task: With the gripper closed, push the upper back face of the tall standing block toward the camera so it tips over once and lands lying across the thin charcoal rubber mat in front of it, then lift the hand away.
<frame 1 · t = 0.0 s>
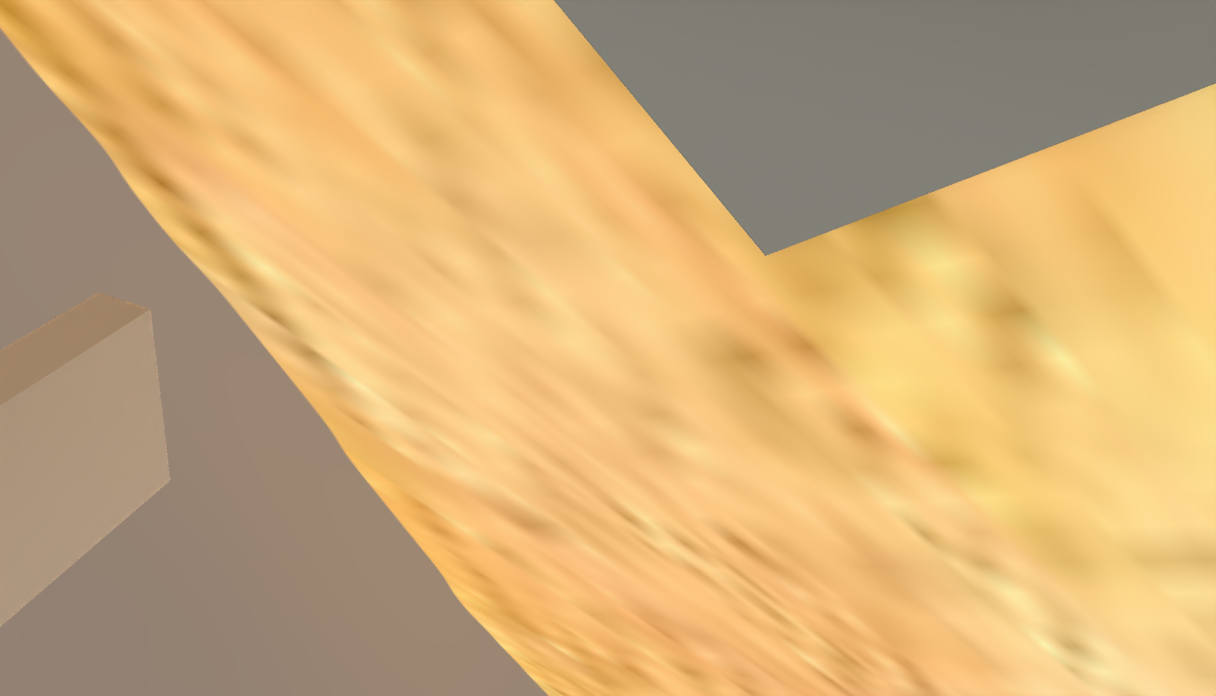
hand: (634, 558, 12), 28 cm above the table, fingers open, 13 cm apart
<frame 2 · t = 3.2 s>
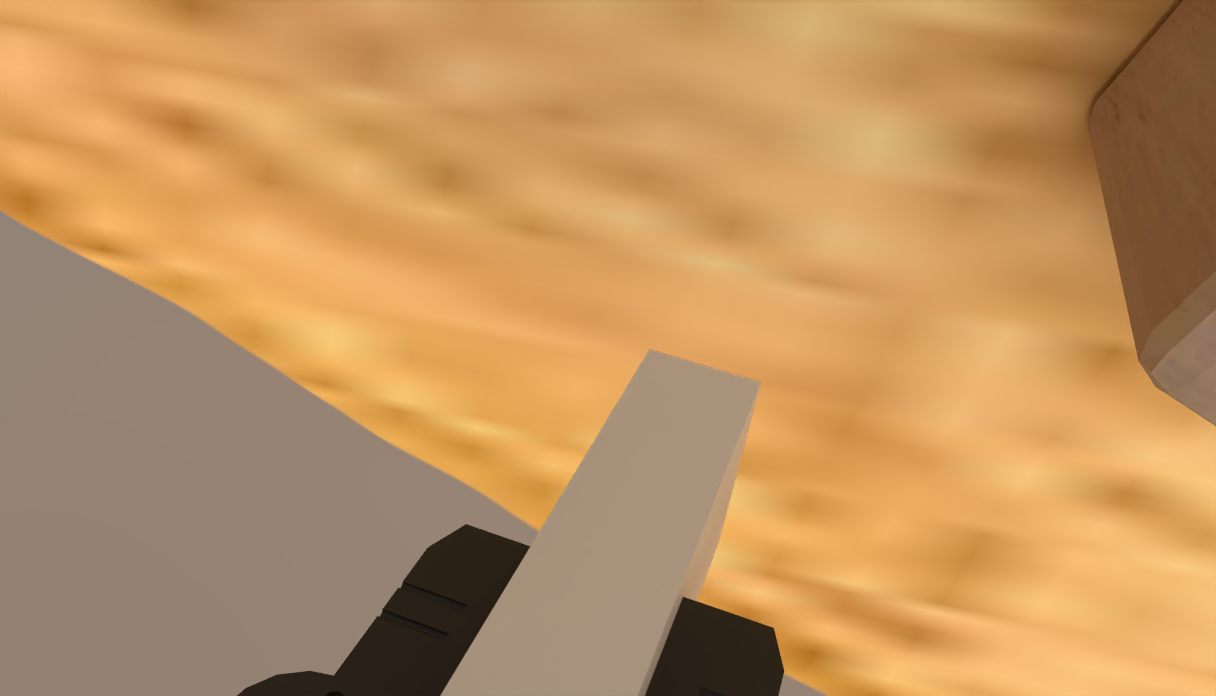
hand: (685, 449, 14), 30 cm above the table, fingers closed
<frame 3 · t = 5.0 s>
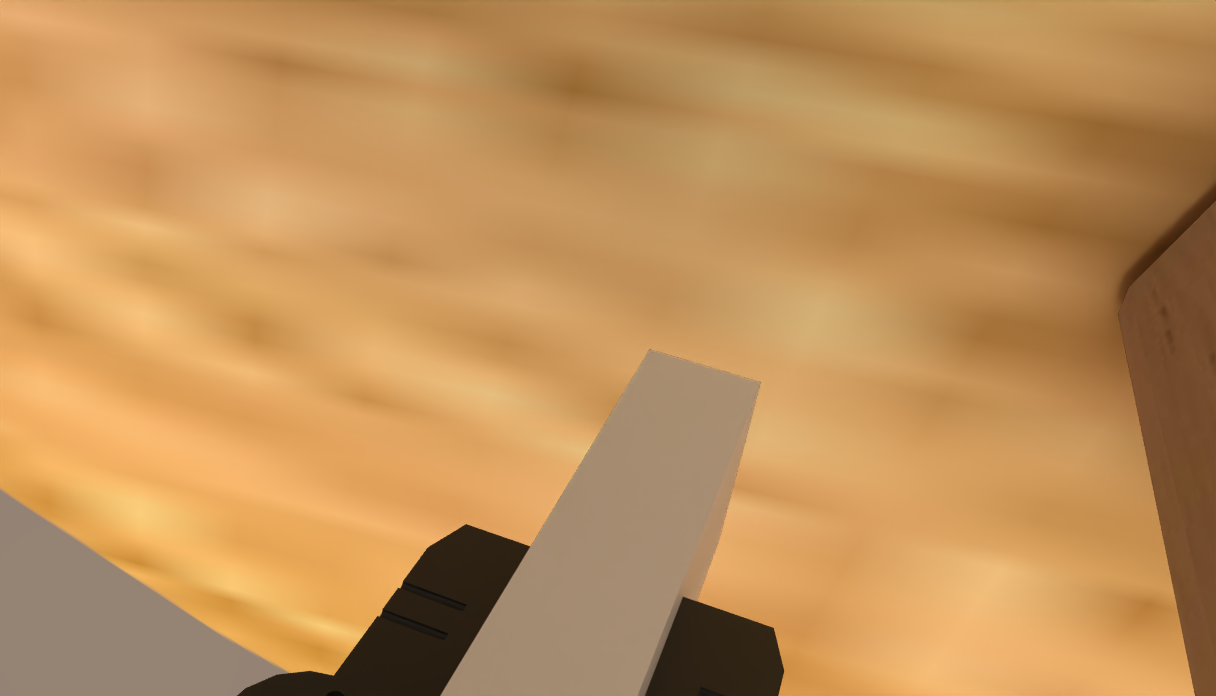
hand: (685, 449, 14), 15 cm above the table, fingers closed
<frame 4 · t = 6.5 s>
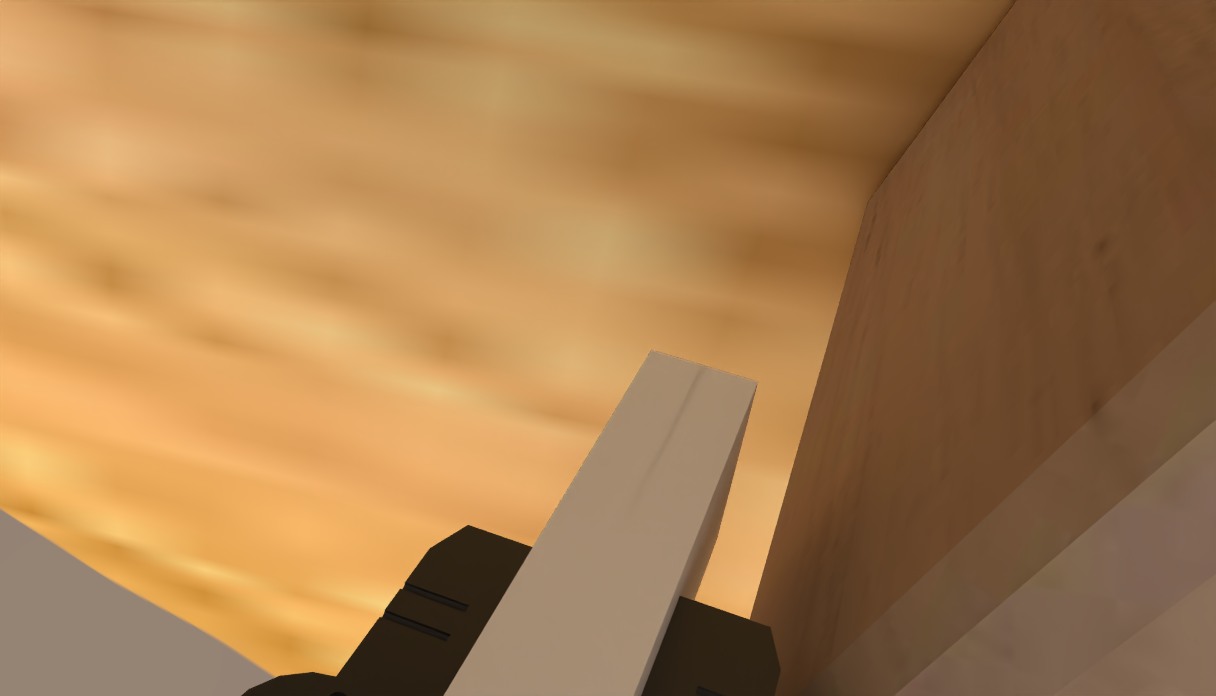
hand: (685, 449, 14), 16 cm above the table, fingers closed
block: (1141, 165, 25), on the table, touching gripper
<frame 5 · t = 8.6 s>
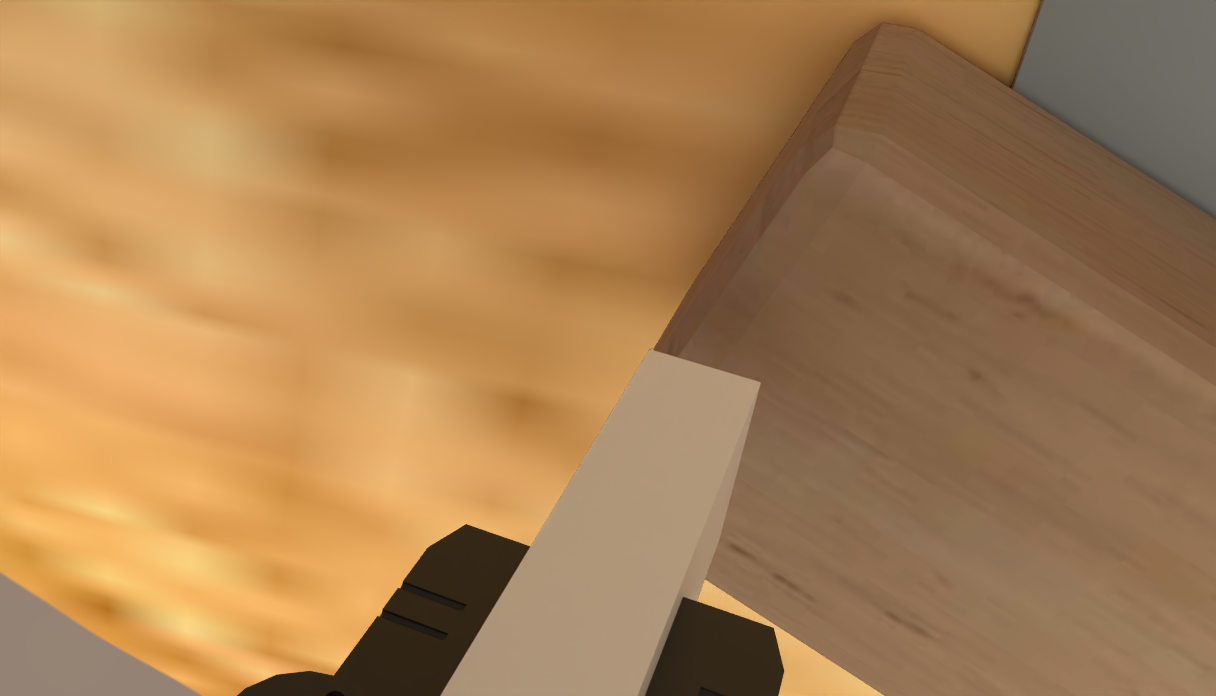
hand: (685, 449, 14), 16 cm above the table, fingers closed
block: (722, 232, 23), point 6 cm above the table, touching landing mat
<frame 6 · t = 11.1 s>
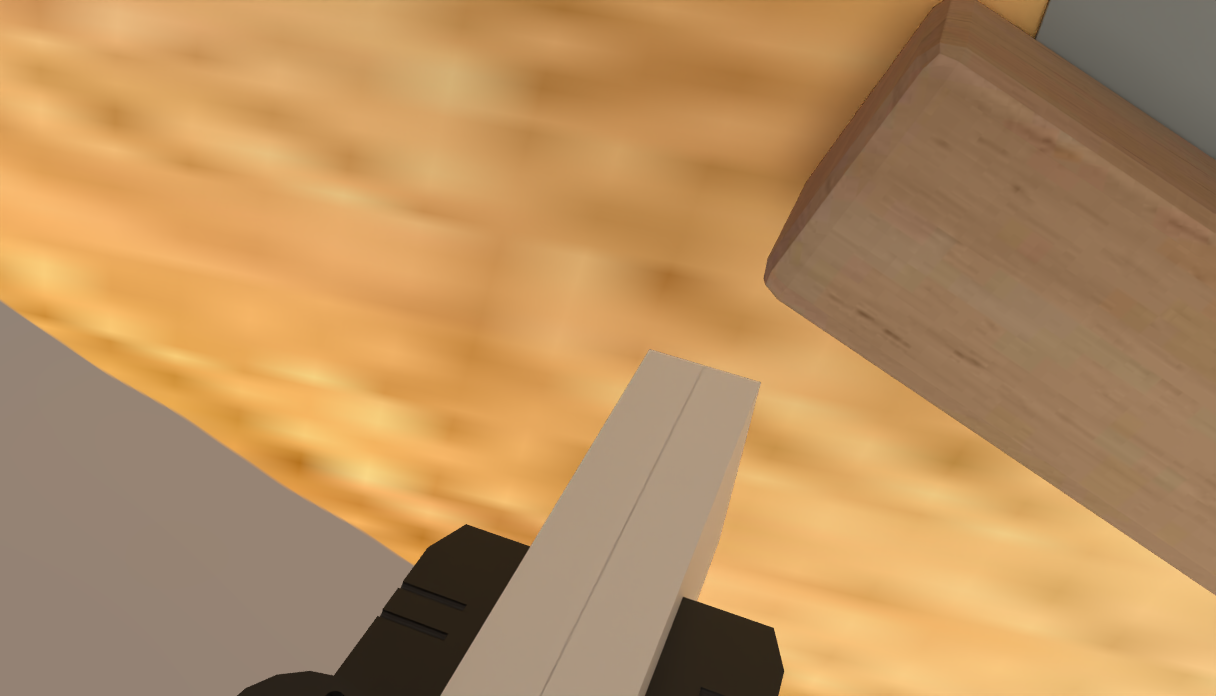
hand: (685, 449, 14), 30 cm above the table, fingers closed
block: (848, 126, 36), point 6 cm above the table, touching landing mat
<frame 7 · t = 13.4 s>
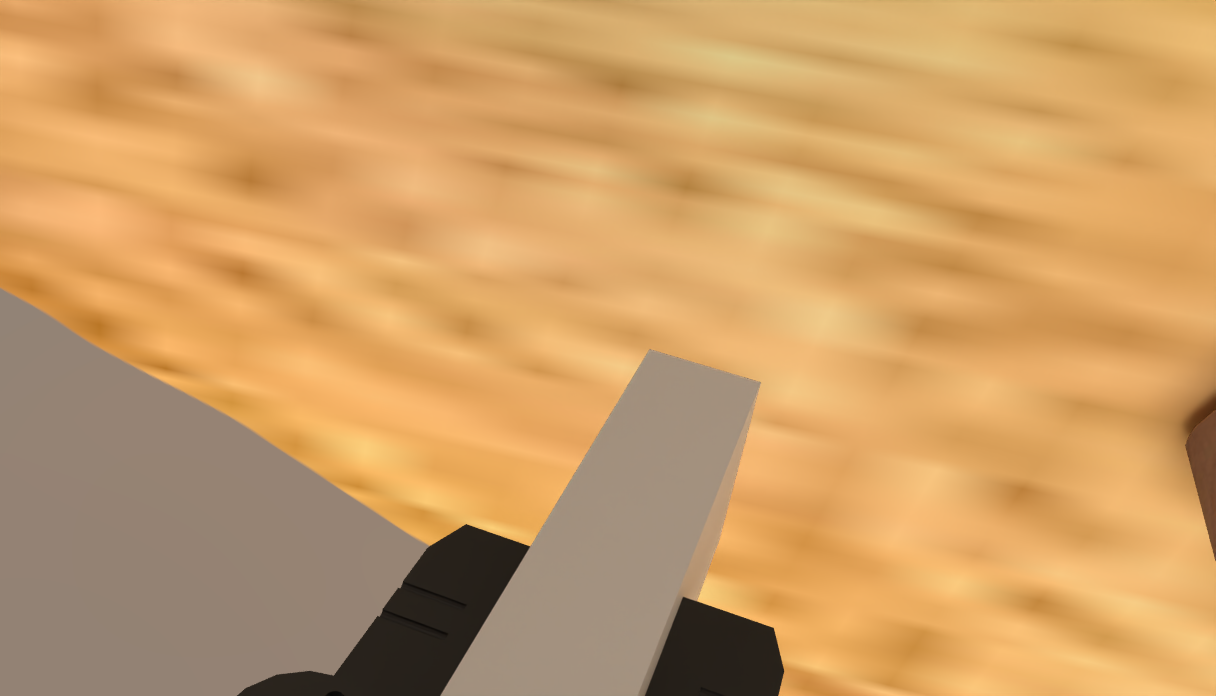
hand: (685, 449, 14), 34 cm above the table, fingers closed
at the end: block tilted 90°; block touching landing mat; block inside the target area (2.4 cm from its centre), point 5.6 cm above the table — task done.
